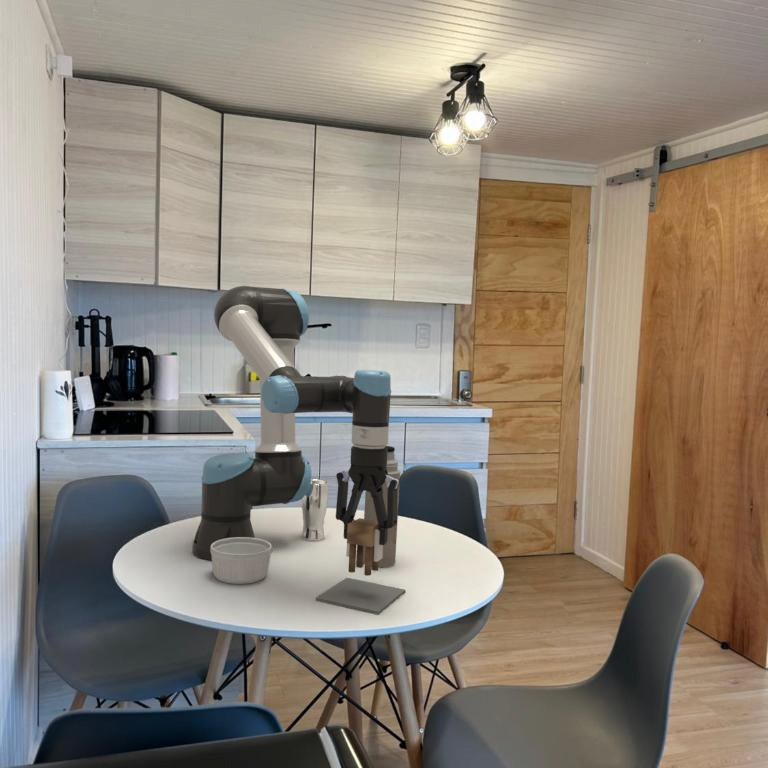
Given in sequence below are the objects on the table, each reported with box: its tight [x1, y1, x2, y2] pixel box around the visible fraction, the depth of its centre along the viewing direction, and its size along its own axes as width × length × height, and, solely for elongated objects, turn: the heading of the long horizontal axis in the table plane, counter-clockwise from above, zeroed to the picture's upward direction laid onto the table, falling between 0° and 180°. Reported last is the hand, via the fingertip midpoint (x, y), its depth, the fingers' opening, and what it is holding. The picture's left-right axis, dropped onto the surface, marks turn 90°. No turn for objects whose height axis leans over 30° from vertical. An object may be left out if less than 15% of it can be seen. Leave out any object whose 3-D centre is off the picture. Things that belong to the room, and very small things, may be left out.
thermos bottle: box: [363, 445, 401, 568], centre depth 170 cm, size 8×8×28 cm
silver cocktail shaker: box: [300, 478, 329, 542], centre depth 188 cm, size 7×7×15 cm
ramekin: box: [210, 537, 273, 585], centre depth 157 cm, size 13×13×7 cm
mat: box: [315, 577, 406, 615], centre depth 148 cm, size 14×14×1 cm
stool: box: [346, 518, 379, 577], centre depth 147 cm, size 6×6×10 cm
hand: (364, 557), depth 148 cm, fingers closed on stool, 5 cm apart
